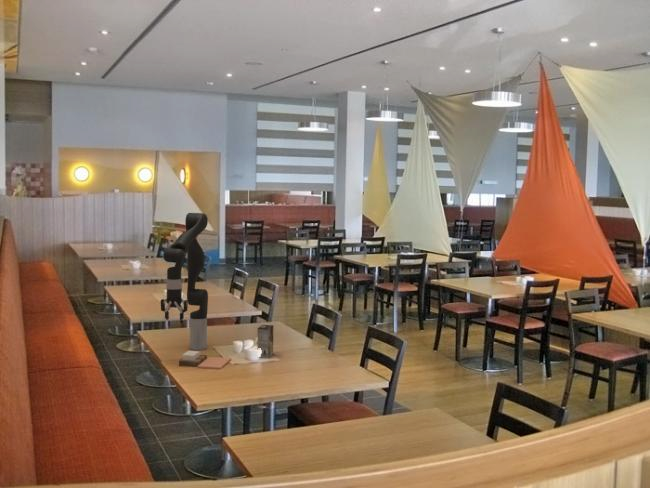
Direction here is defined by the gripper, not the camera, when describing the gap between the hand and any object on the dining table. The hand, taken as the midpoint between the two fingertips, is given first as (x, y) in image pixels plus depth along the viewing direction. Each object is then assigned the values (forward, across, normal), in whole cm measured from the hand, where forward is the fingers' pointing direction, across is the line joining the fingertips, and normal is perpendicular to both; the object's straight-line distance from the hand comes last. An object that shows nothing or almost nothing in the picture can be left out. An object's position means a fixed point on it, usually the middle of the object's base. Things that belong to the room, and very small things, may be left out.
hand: (174, 319), depth 351 cm
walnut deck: (+22, -10, 0) cm, 24 cm away
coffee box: (+22, -43, -21) cm, 53 cm away
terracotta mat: (+22, -22, 0) cm, 31 cm away
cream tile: (+19, -9, 0) cm, 21 cm away
